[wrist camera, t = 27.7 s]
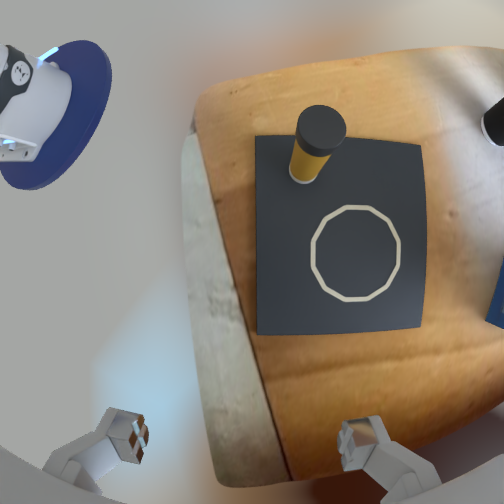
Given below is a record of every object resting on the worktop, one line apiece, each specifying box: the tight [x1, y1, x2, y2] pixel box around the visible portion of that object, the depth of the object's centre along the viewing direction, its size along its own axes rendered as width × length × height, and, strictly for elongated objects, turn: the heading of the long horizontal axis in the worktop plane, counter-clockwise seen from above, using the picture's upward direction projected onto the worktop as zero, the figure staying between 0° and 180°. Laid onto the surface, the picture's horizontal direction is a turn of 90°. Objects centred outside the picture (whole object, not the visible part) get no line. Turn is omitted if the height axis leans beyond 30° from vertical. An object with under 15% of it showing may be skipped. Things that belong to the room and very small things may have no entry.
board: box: [255, 135, 427, 335], centre depth 30 cm, size 20×22×1 cm
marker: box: [289, 105, 346, 184], centre depth 23 cm, size 3×3×13 cm
